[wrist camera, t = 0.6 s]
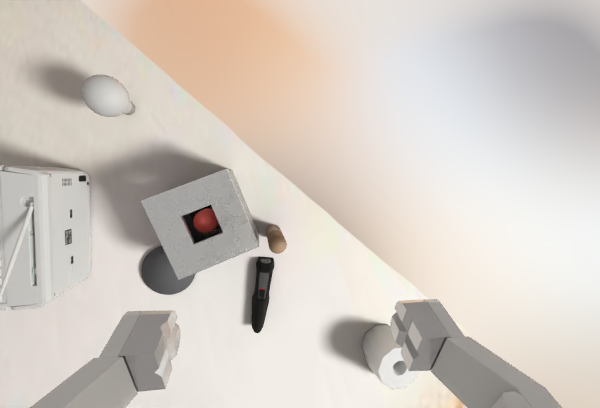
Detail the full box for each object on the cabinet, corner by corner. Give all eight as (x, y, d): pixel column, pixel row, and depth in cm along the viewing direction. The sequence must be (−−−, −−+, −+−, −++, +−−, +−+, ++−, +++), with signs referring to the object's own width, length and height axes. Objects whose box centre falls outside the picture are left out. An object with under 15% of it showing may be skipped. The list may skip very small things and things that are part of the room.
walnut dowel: (282, 235, 57) (289, 249, 46) (269, 240, 57) (272, 256, 46) (277, 222, 56) (282, 233, 46) (264, 228, 56) (266, 240, 45)
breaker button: (223, 224, 50) (221, 227, 47) (202, 232, 49) (199, 236, 46) (214, 204, 49) (212, 206, 46) (193, 213, 49) (189, 215, 46)
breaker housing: (258, 233, 56) (259, 246, 45) (193, 259, 54) (178, 280, 44) (232, 170, 54) (226, 168, 43) (163, 195, 52) (140, 200, 41)
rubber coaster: (203, 281, 55) (203, 282, 55) (156, 301, 54) (155, 302, 53) (183, 237, 54) (182, 237, 53) (133, 257, 52) (132, 257, 52)
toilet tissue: (373, 380, 64) (390, 411, 56) (357, 332, 62) (373, 357, 54) (406, 365, 65) (428, 393, 57) (392, 318, 63) (413, 339, 55)
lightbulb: (154, 114, 50) (127, 97, 40) (126, 132, 50) (90, 119, 39) (133, 85, 49) (99, 60, 39) (104, 103, 49) (61, 82, 38)
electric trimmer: (247, 324, 58) (247, 333, 55) (257, 255, 57) (257, 260, 54) (265, 325, 59) (265, 334, 56) (274, 257, 58) (275, 262, 54)
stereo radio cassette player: (45, 166, 48) (-97, 160, 29) (96, 169, 50) (-6, 164, 30) (49, 278, 50) (-81, 343, 31) (98, 277, 52) (3, 339, 32)
